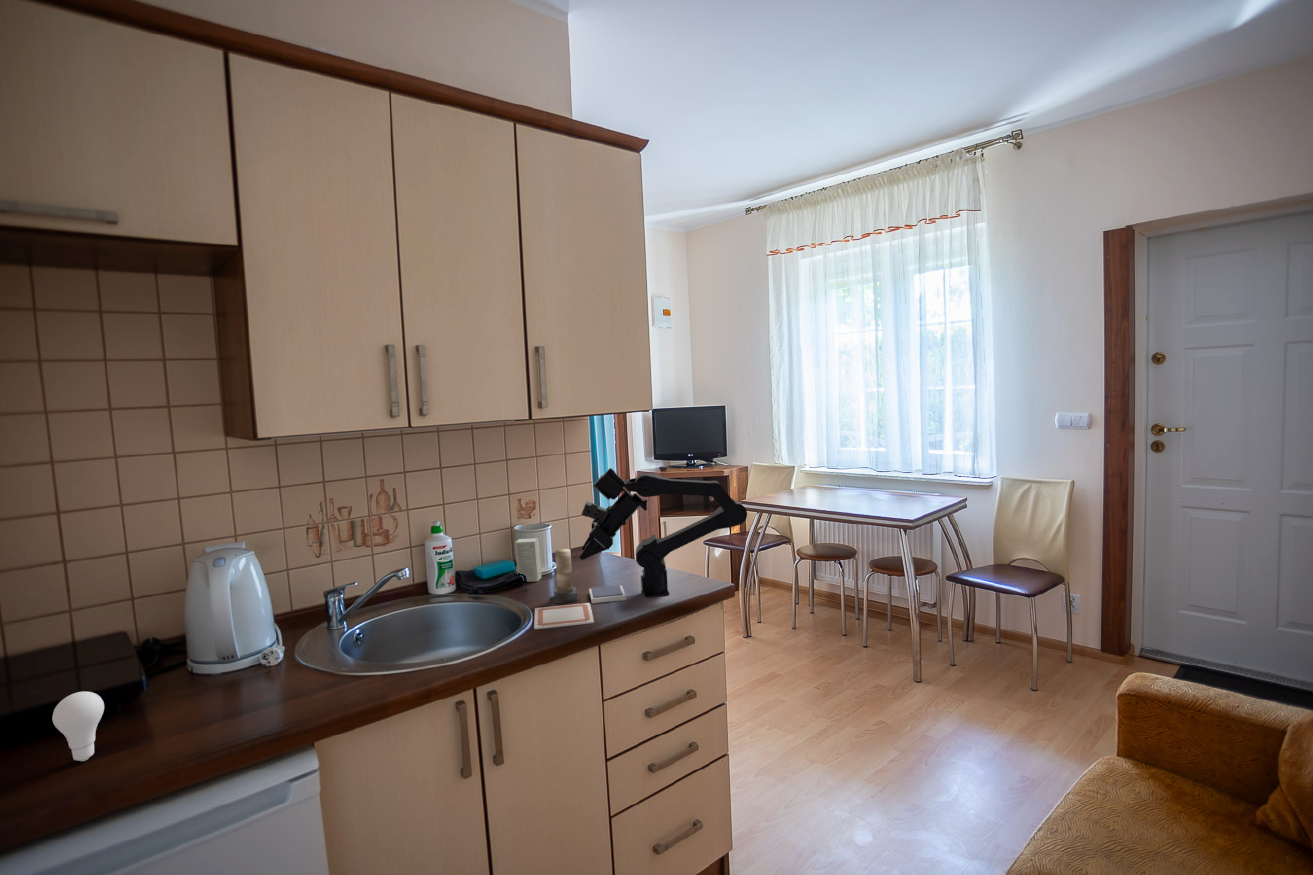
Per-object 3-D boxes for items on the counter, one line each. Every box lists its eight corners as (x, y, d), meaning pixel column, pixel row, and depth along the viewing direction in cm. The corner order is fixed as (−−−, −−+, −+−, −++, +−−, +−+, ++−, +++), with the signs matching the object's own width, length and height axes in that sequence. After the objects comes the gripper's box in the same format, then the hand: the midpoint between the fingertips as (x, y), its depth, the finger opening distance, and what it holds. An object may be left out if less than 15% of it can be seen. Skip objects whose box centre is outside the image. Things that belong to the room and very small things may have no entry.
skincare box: (542, 577, 193) (539, 537, 192) (537, 581, 189) (535, 541, 188) (521, 577, 194) (519, 538, 193) (517, 582, 190) (514, 541, 189)
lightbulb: (49, 767, 101) (41, 699, 100) (95, 746, 106) (87, 682, 106) (73, 774, 98) (64, 705, 98) (118, 752, 104) (110, 687, 103)
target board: (589, 604, 167) (589, 602, 167) (594, 622, 153) (593, 620, 153) (535, 609, 164) (534, 607, 164) (534, 629, 151) (534, 627, 150)
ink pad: (621, 589, 178) (621, 584, 177) (626, 599, 169) (625, 594, 169) (589, 592, 176) (589, 587, 176) (591, 603, 167) (591, 597, 167)
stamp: (576, 593, 176) (573, 547, 175) (577, 600, 170) (574, 552, 169) (554, 596, 175) (551, 549, 174) (554, 603, 169) (551, 554, 168)
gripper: (599, 486, 180) (562, 527, 180) (597, 497, 162) (555, 542, 162) (629, 512, 181) (592, 553, 181) (629, 526, 163) (588, 571, 163)
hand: (581, 554), depth 172 cm, fingers open, 9 cm apart
